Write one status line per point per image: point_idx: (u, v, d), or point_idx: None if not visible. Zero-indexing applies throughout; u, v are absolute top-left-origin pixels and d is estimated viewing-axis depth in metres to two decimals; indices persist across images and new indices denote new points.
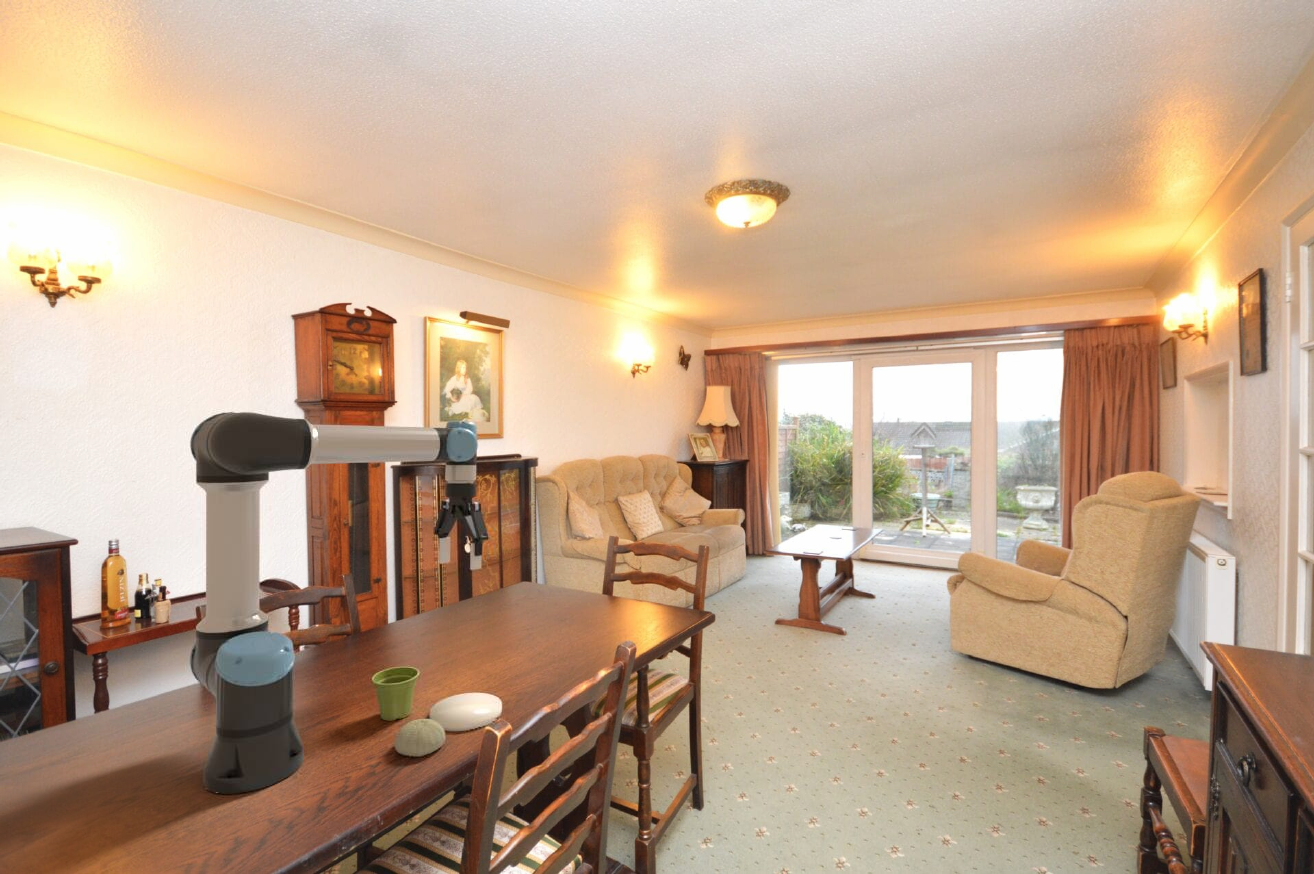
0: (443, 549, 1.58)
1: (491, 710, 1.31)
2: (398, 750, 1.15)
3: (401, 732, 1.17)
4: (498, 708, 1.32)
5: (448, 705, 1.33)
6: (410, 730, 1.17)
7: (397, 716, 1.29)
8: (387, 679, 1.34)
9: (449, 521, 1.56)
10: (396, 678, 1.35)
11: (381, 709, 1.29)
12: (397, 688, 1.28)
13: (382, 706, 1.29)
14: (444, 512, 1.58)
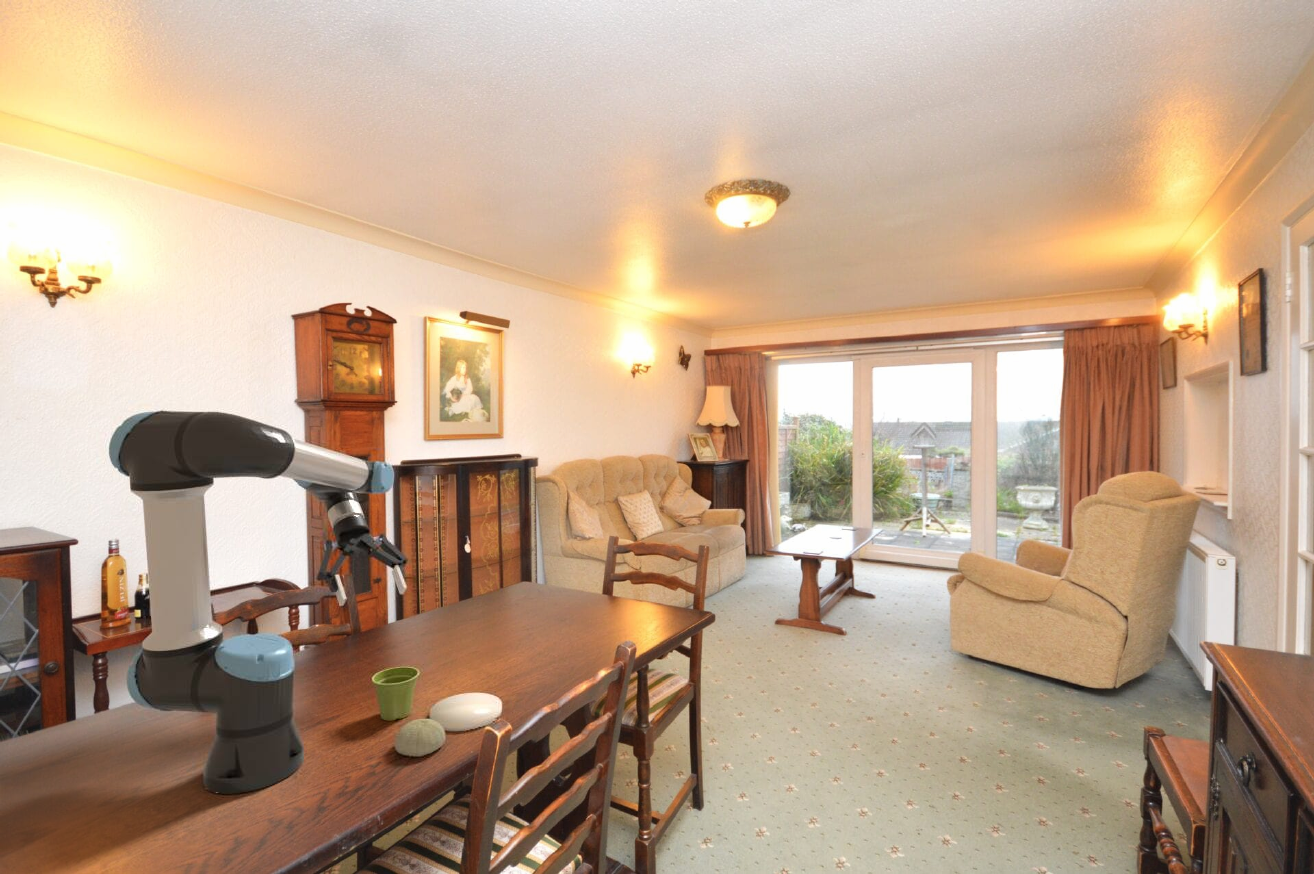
0: None
1: (491, 710, 1.31)
2: (398, 750, 1.15)
3: (401, 732, 1.17)
4: (498, 708, 1.32)
5: (448, 705, 1.33)
6: (410, 730, 1.17)
7: (397, 716, 1.29)
8: (387, 679, 1.34)
9: (345, 557, 1.42)
10: (396, 678, 1.35)
11: (381, 709, 1.29)
12: (397, 688, 1.28)
13: (382, 706, 1.29)
14: None
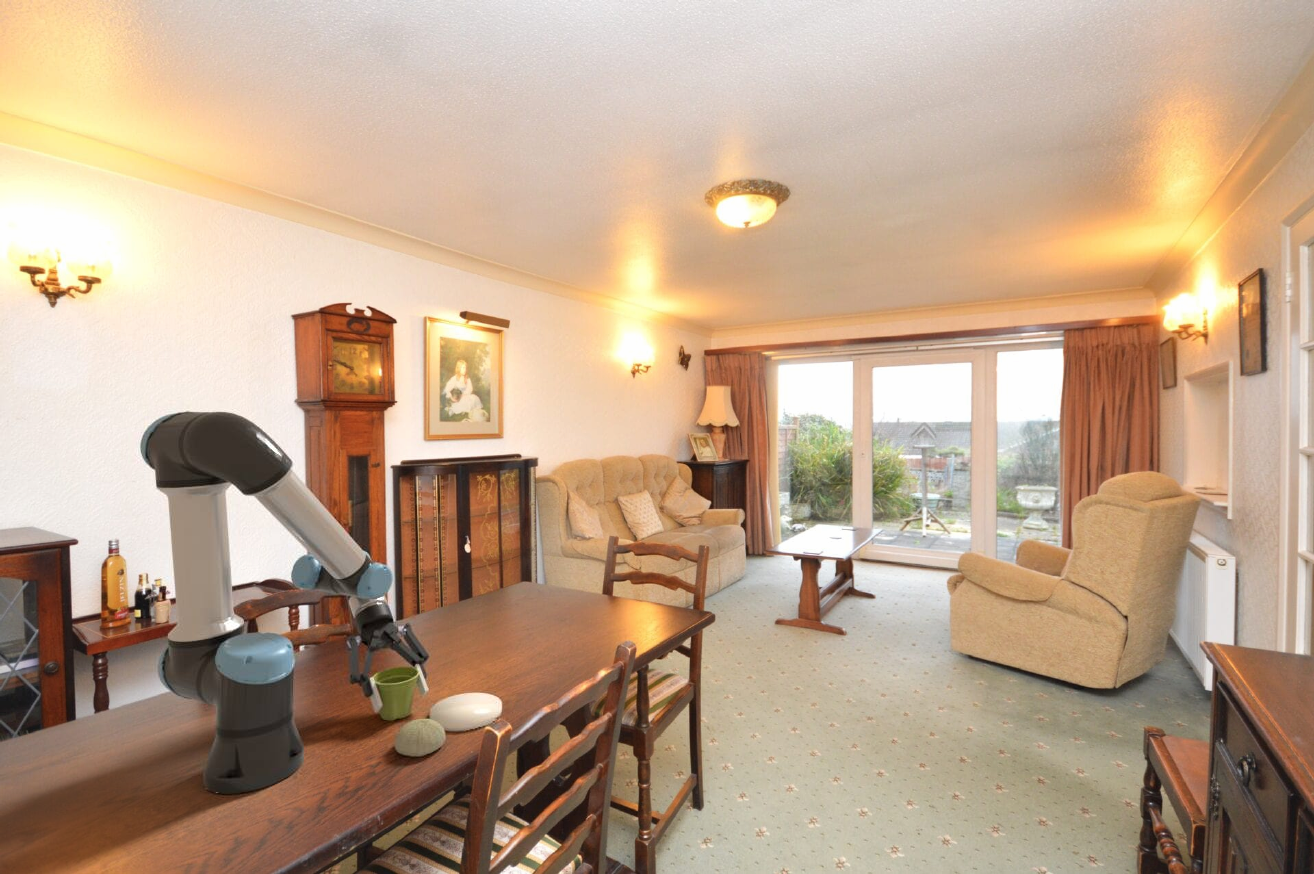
0: None
1: (491, 710, 1.31)
2: (398, 750, 1.15)
3: (401, 732, 1.17)
4: (498, 708, 1.32)
5: (448, 705, 1.33)
6: (410, 730, 1.17)
7: (397, 716, 1.29)
8: (387, 679, 1.34)
9: (373, 653, 1.33)
10: (396, 678, 1.35)
11: (381, 709, 1.29)
12: (397, 688, 1.28)
13: (382, 706, 1.29)
14: None
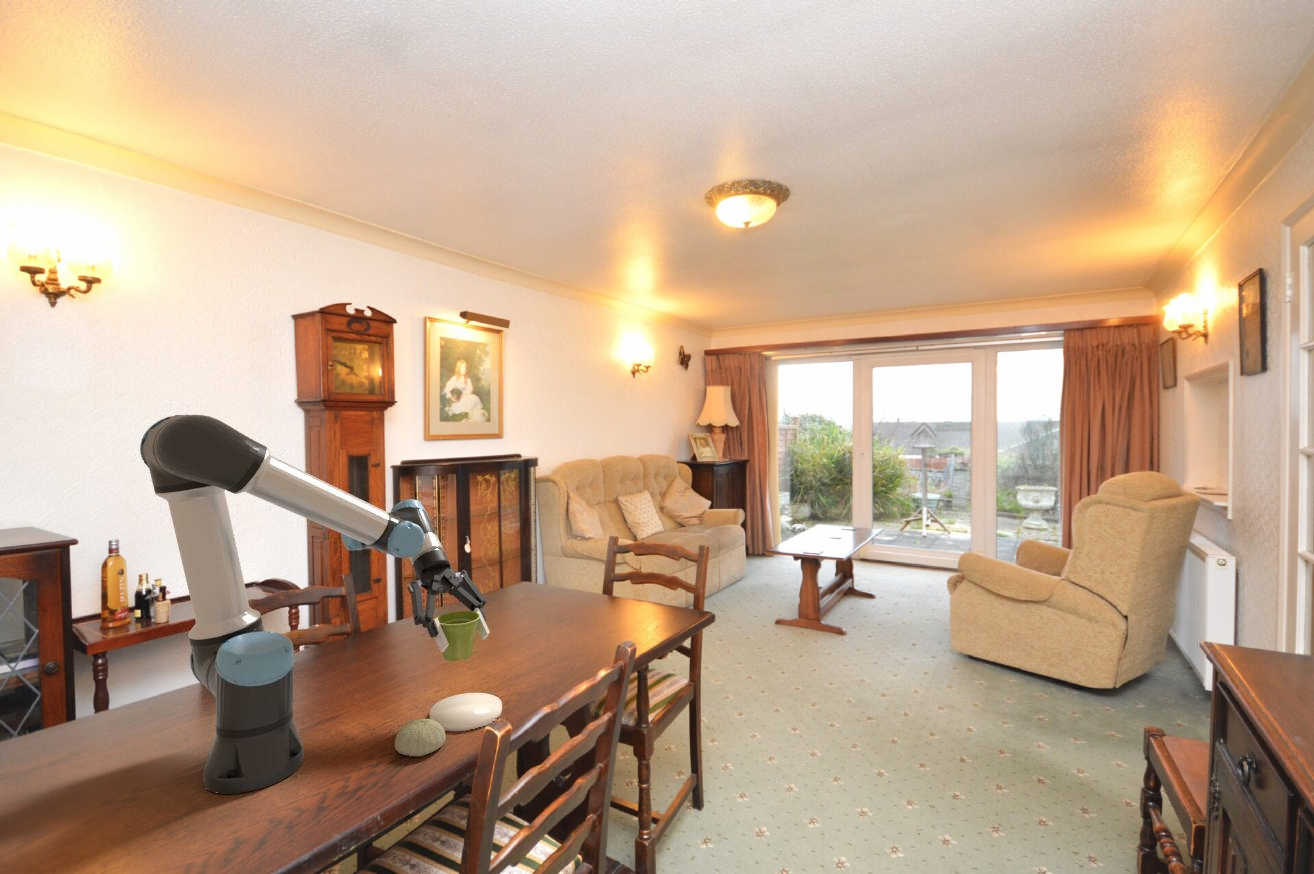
0: None
1: (491, 710, 1.31)
2: (398, 750, 1.15)
3: (401, 732, 1.17)
4: (498, 708, 1.32)
5: (448, 705, 1.33)
6: (410, 729, 1.17)
7: (461, 657, 1.31)
8: (447, 623, 1.36)
9: None
10: (456, 621, 1.37)
11: (445, 650, 1.31)
12: (461, 628, 1.30)
13: None
14: None
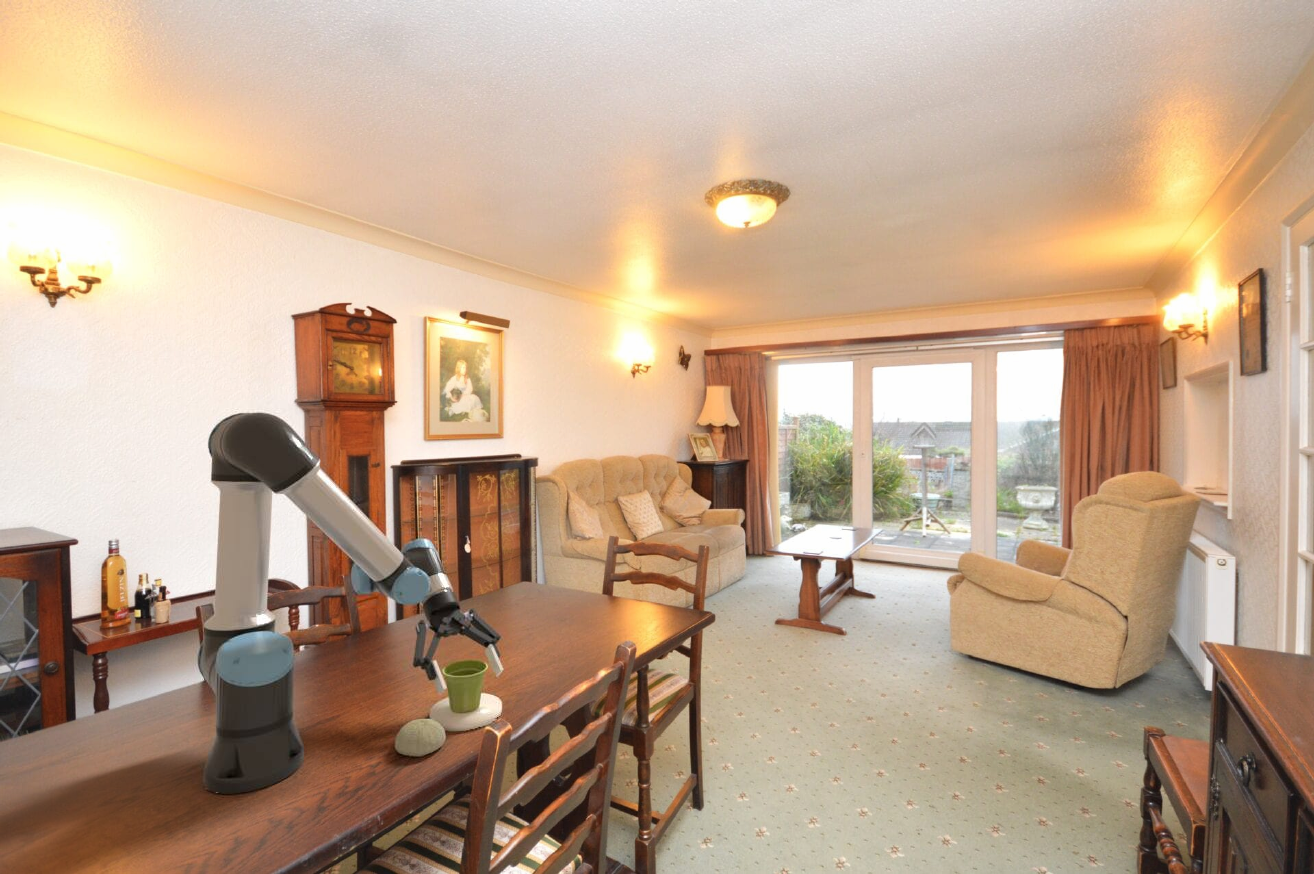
0: None
1: (491, 710, 1.31)
2: (398, 750, 1.15)
3: (401, 732, 1.17)
4: (498, 708, 1.32)
5: (448, 705, 1.33)
6: (410, 730, 1.17)
7: (468, 709, 1.30)
8: (455, 672, 1.35)
9: (439, 639, 1.33)
10: (463, 671, 1.36)
11: (452, 702, 1.30)
12: (468, 680, 1.29)
13: (453, 699, 1.29)
14: None
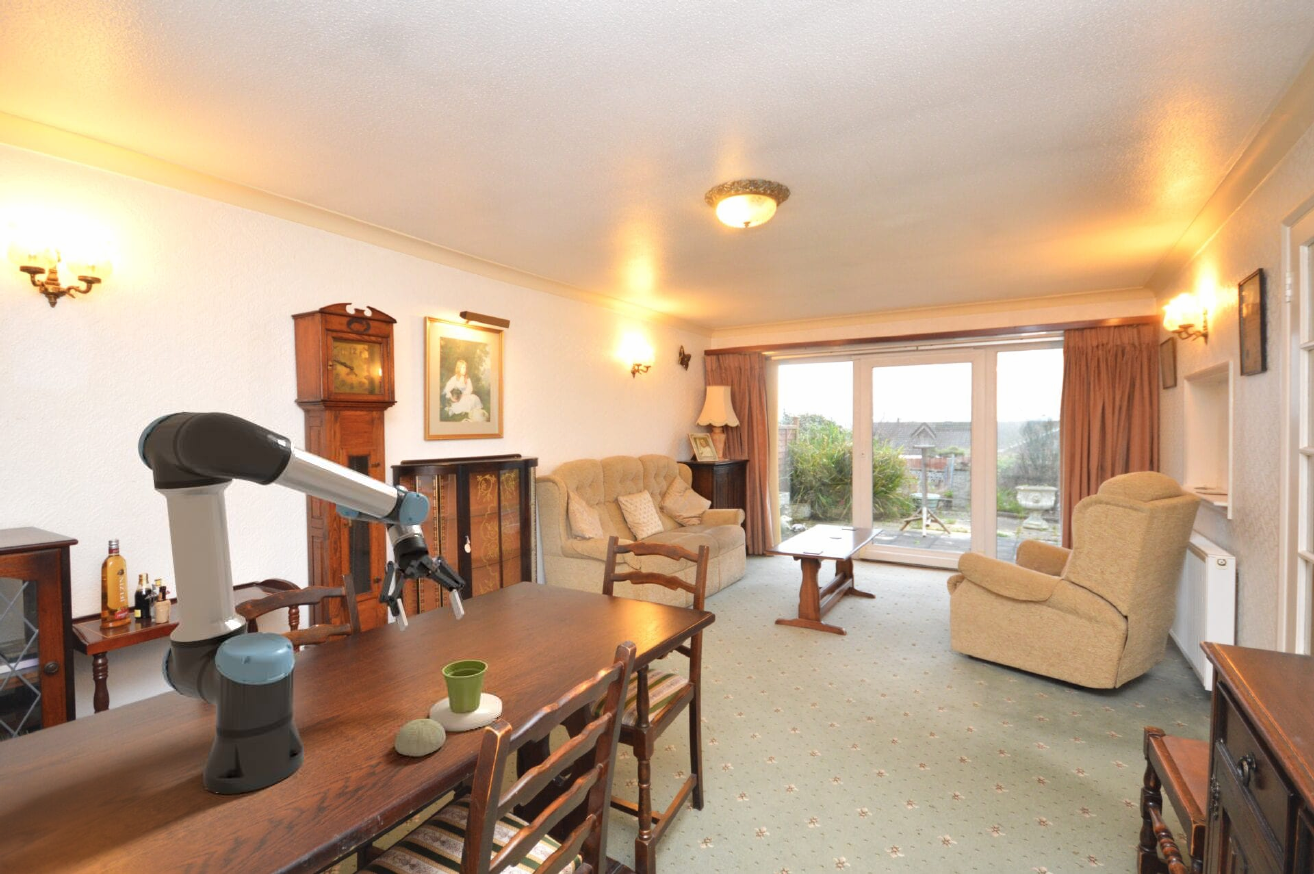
0: None
1: (491, 710, 1.31)
2: (398, 750, 1.15)
3: (401, 732, 1.17)
4: (498, 708, 1.32)
5: (448, 705, 1.33)
6: (410, 730, 1.17)
7: (468, 709, 1.30)
8: (455, 673, 1.35)
9: None
10: (463, 671, 1.36)
11: (452, 702, 1.30)
12: (468, 681, 1.28)
13: (453, 699, 1.29)
14: None
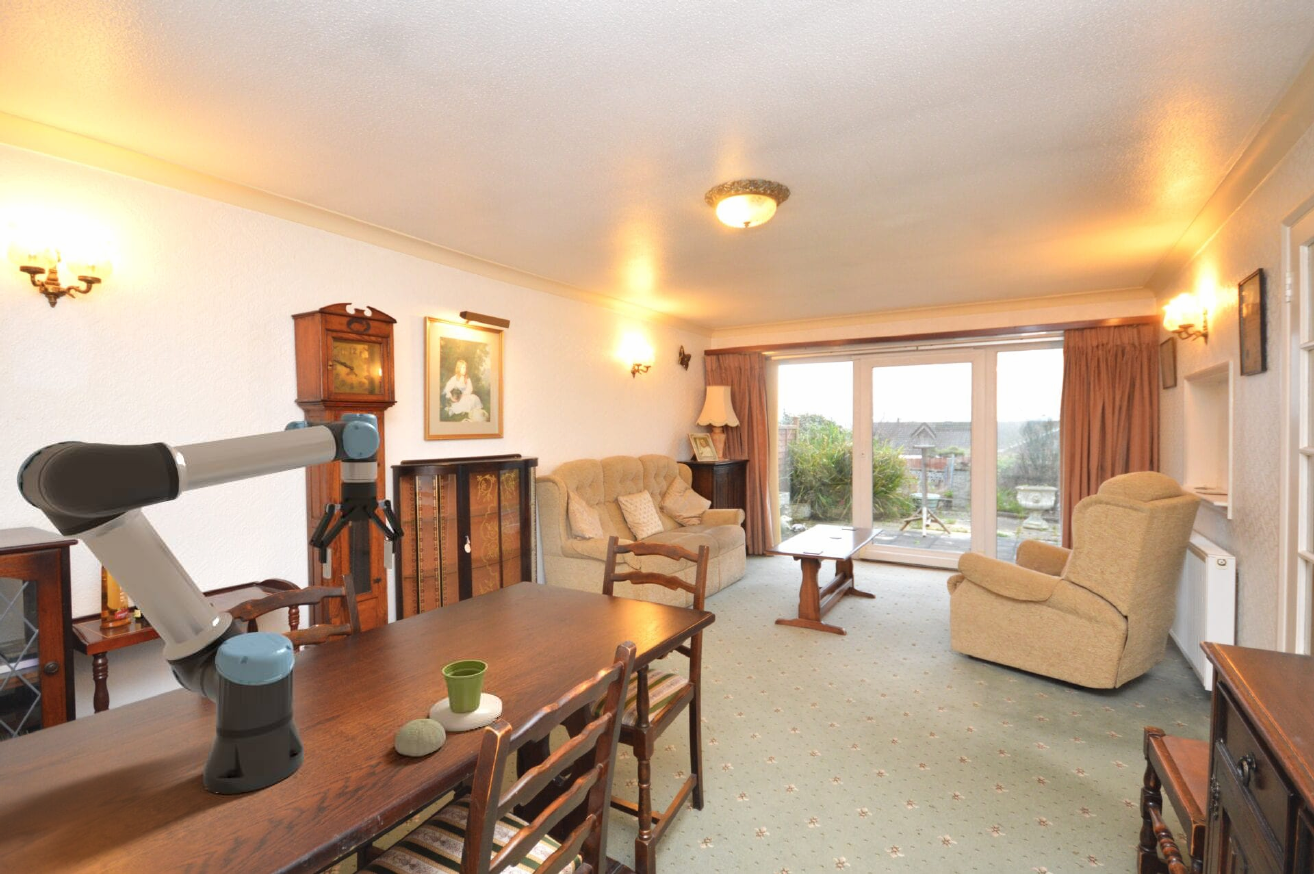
0: None
1: (491, 710, 1.31)
2: (398, 750, 1.15)
3: (401, 732, 1.17)
4: (498, 708, 1.32)
5: (448, 705, 1.33)
6: (410, 730, 1.17)
7: (468, 709, 1.30)
8: (454, 673, 1.35)
9: None
10: (463, 671, 1.36)
11: (452, 702, 1.30)
12: (468, 681, 1.29)
13: (453, 699, 1.29)
14: None
